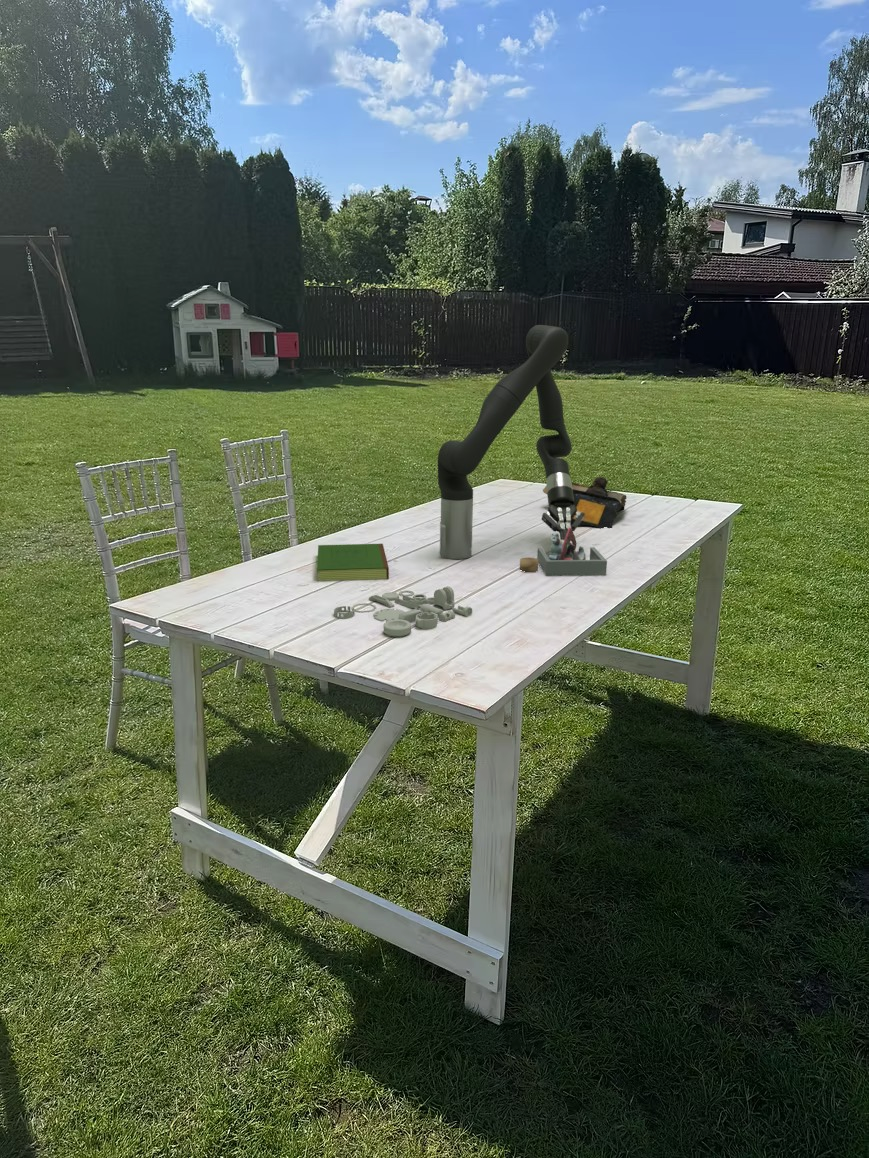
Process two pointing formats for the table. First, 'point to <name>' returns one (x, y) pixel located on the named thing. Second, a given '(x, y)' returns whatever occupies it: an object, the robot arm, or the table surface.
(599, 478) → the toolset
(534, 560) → the tan rounded lump
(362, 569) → the hardcover book
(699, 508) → the table surface
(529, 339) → the robot arm
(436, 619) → the robot parts
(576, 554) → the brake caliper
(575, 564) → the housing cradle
